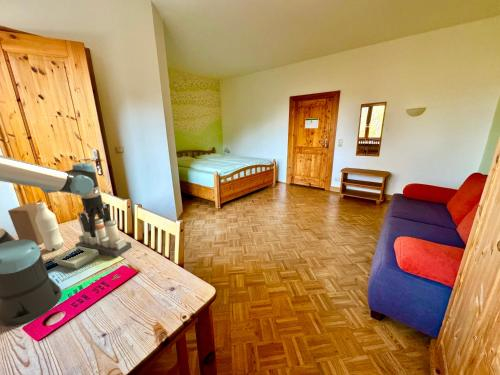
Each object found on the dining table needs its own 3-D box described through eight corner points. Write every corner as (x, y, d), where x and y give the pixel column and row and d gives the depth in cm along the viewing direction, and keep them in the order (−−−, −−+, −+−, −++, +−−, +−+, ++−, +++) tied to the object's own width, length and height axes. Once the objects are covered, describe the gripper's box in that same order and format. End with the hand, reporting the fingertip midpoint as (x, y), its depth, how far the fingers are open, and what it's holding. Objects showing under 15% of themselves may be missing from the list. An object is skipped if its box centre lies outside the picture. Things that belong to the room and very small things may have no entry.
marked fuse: (102, 246, 100) (95, 222, 96) (95, 245, 102) (88, 221, 98) (110, 241, 104) (105, 218, 101) (103, 240, 106) (98, 217, 102)
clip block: (116, 257, 96) (113, 246, 94) (76, 249, 103) (73, 238, 101) (131, 247, 104) (129, 236, 103) (93, 240, 112) (91, 229, 110)
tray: (76, 269, 88) (74, 264, 88) (55, 264, 92) (53, 258, 91) (99, 255, 98) (98, 250, 97) (79, 251, 102) (78, 246, 101)
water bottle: (68, 244, 108) (54, 200, 101) (54, 252, 101) (39, 205, 94) (56, 243, 109) (41, 200, 101) (41, 251, 102) (25, 205, 94)
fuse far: (89, 243, 103) (82, 220, 99) (82, 242, 104) (76, 219, 100) (98, 239, 107) (92, 216, 103) (91, 238, 108) (85, 215, 104)
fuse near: (115, 249, 98) (109, 224, 94) (108, 247, 99) (102, 223, 95) (123, 244, 102) (118, 220, 98) (116, 242, 103) (111, 219, 100)
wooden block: (38, 245, 108) (26, 210, 102) (20, 245, 108) (7, 210, 102) (56, 235, 117) (46, 203, 111) (39, 235, 117) (28, 203, 112)
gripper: (76, 203, 87) (90, 250, 93) (113, 191, 103) (122, 232, 109) (64, 201, 89) (78, 248, 95) (102, 189, 105) (112, 230, 111)
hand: (102, 239), depth 102 cm, fingers closed on marked fuse, 4 cm apart
